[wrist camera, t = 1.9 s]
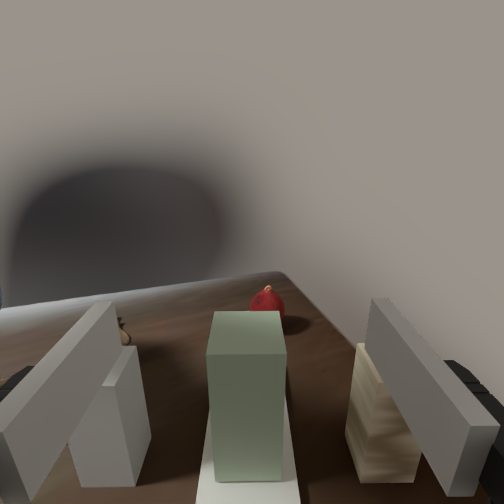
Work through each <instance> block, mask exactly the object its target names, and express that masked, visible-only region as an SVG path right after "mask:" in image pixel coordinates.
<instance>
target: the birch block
mask: <svg viewBox="0 0 504 504" xmlns="http://www.w3.org/2000/svg"><path fill="white" fill-rule="evenodd" d="M364 346H365V343H357V349H356V357H355V364H354V371H353V378H352V385H351V392H350V399H349V406H348V414H347V421H346V428H345V437H346V440H347V443H348V447H349V450H350V453H351V456H352V459H353V462H354V465H355V468H356V471H357V474H358V477H359V480H360V483H413V482H414V479H415V475H416V471H417V468H418V464H419V460H420V457H421V453H422V451H421V449H420V447H419V445H418V443H417V442H416V440H415V438H414V436H413V434H412V433H411V431H410V429H409V427H408V425H407V424H406V422H405V420H404V418H403V416H402V415H401V413H400V411H399V409H398V407H397V406H396V404H395V402H394V400H393V398H392V397H391V395H390V393H389V391H388V389H387V388H386V386H385V384H384V382H383V381H382V379H381V377H380V375H379V373H378V372H377V370H376V368H375V366H374V364H373V363H372V361H371V359H370V357H369V355H368V354H367V352H366V350H365V348H364Z"/></svg>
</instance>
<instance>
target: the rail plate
mask: <svg viewBox="0 0 504 504" xmlns="http://www.w3.org/2000/svg"><path fill="white" fill-rule="evenodd" d="M196 504H301V503H300V496H299V489H298V482H297V475H296V468H295V461H294V454H293V447H292V440H291V433H290V426H289V419H288V412H287V405H286V398H285V404H284V427H283V450H282V474H281V481H215V476H214V462H213V448H212V434H211V420H210V409H209V416H208V423H207V429H206V436H205V443H204V450H203V457H202V463H201V470H200V477H199V484H198V491H197V498H196Z"/></svg>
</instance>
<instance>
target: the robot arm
mask: <svg viewBox="0 0 504 504" xmlns="http://www.w3.org/2000/svg"><path fill="white" fill-rule="evenodd" d="M2 305H3V299H2V293H1V287H0V309H1V308H2ZM364 348H365V350H366V352H367V354H368V355H369V357H370V359H371V361H372V363H373V364H374V366H375V368H376V370H377V372H378V373H379V375H380V377H381V379H382V381H383V382H384V384H385V386H386V388H387V389H388V391H389V393H390V395H391V397H392V398H393V400H394V402H395V404H396V406H397V407H398V409H399V411H400V413H401V415H402V416H403V418H404V420H405V422H406V424H407V425H408V427H409V429H410V431H411V433H412V434H413V436H414V438H415V440H416V442H417V443H418V445H419V447H420V449H421V451H422V452H423V454H424V456H425V458H426V459H427V461H428V463H429V465H430V467H431V468H432V470H433V472H434V474H435V476H436V477H437V479H438V481H439V483H440V485H441V486H442V488H443V490H444V492H445V494H446V495H447V497H466V496H474V495H475V492H476V489H477V487H478V484H479V482H480V484H481V485H482V486H483V488H484V489H485V491H486V492H487V494H488V495H489V498H488V501H487V503H486V504H504V407H503V406H502V405H501V403H500V402H499V401H498V400H497V399H496V398H495V397H494V396H493V395H492V394H490V393H489V391H488V390H487V389H486V388H485V387H484V386H483V385H482V384H480V382H479V380H477V378H476V377H475V376H474V375H473V374H472V373H471V372H470V371H469V370H468V369H466V368H465V367H463V366H461V365H460V364H458V363H457V362H455V361H454V360H442V359H441V358H440V356H439V355H438V354H437V353H436V352H435V351H434V350H433V349H432V347H431V346H430V345H429V344H428V343H427V342H426V341H425V339H424V338H423V337H422V336H421V335H420V334H419V333H418V332H417V330H416V329H415V328H414V327H413V326H412V325H411V324H410V323H409V321H408V320H407V319H406V318H405V317H404V316H403V315H402V314H401V312H400V311H399V310H398V309H397V308H396V307H395V306H394V305H393V303H392V302H391V301H390V300H389V299H388V298H377V299H375V298H372V300H371V306H370V313H369V320H368V327H367V333H366V340H365V346H364ZM122 351H123V349H122V344H121V338H120V333H119V328H118V322H117V317H116V312H115V306H114V301H97V302H96V303H95V304H94V305H93V306H92V307H91V308H90V309H89V310H88V311H87V312H86V313H85V314H84V315H83V316H82V317H81V318H80V319H79V321H78V322H77V323H76V324H75V325H74V326H73V327H72V328H71V329H70V330H69V331H68V332H67V333H66V334H65V335H64V336H63V337H62V338H61V339H60V340H59V342H58V343H57V344H56V345H55V346H54V347H53V348H52V349H51V350H50V351H49V352H48V353H47V354H46V355H45V356H44V357H43V358H42V359H41V360H40V361H39V363H38V364H37V365H36V366H27V367H25V368H24V369H22V370H21V371H19V372H18V373H16V374H15V375H13V376H11V377H10V378H9V379H8V380H7V381H6V382H5V383H4V384H3V385H2V386H1V387H0V495H1V498H2V500H3V502H4V503H31V502H32V500H33V498H34V497H35V495H36V493H37V492H38V490H39V489H40V487H41V485H42V484H43V482H44V480H45V479H46V477H47V475H48V474H49V472H50V470H51V469H52V467H53V465H54V464H55V462H56V460H57V459H58V457H59V455H60V454H61V452H62V450H63V449H64V447H65V445H66V444H67V442H68V440H69V439H70V437H71V436H72V434H73V432H74V431H75V429H76V427H77V426H78V424H79V422H80V421H81V419H82V417H83V416H84V414H85V412H86V411H87V409H88V407H89V406H90V404H91V402H92V401H93V399H94V397H95V396H96V394H97V392H98V391H99V389H100V387H101V386H102V384H103V383H104V381H105V379H106V378H107V376H108V374H109V373H110V371H111V369H112V368H113V366H114V364H115V363H116V361H117V359H118V358H119V356H120V354H121V353H122Z"/></svg>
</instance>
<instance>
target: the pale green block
mask: <svg viewBox="0 0 504 504" xmlns="http://www.w3.org/2000/svg"><path fill="white" fill-rule="evenodd" d="M286 357H287V353H286V347H285V342H284V336H283V330H282V325H281V319H280V313H279V311H223V312H214V317H213V322H212V327H211V332H210V337H209V342H208V347H207V352H206V363H207V377H208V392H209V406H210V420H211V434H212V448H213V462H214V476H215V481H281V474H282V450H283V427H284V404H285V381H286Z"/></svg>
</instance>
